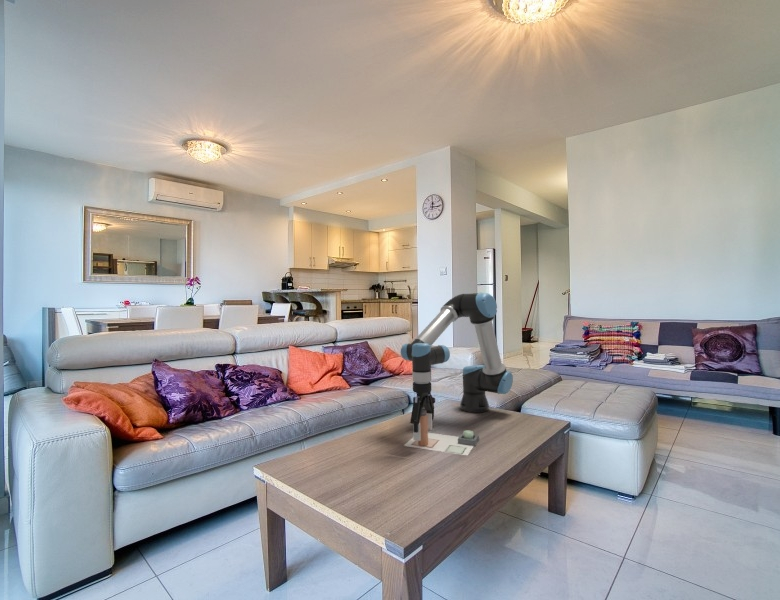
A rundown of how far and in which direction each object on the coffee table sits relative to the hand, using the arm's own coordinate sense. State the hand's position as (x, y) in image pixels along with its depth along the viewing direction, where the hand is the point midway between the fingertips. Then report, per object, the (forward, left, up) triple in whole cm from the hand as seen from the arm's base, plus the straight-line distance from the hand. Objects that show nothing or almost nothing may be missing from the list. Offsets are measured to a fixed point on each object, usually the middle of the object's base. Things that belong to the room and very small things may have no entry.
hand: (423, 434), depth 152 cm
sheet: (-5, +6, -4) cm, 9 cm away
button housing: (-10, +16, -4) cm, 19 cm away
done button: (-10, +16, -4) cm, 19 cm away
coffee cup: (-21, -7, -5) cm, 23 cm away
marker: (0, 0, -4) cm, 4 cm away
